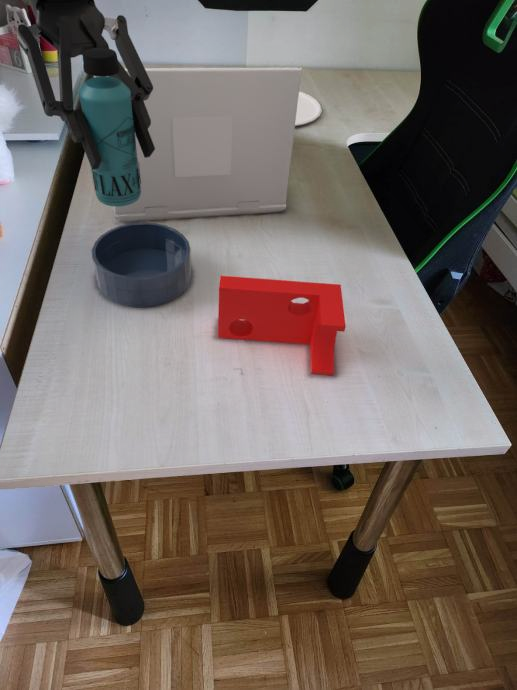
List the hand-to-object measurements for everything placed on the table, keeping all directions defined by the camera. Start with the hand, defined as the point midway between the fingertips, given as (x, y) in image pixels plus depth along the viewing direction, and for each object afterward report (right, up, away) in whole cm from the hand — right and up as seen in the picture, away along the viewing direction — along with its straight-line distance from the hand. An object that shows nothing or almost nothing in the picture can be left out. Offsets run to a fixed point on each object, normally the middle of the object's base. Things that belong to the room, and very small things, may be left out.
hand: (123, 158), depth 66 cm
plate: (+21, +44, +82) cm, 95 cm away
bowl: (-3, -12, +25) cm, 28 cm away
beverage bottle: (-3, -4, +8) cm, 9 cm away
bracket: (+20, -24, +16) cm, 35 cm away
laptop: (+3, +11, +48) cm, 50 cm away
